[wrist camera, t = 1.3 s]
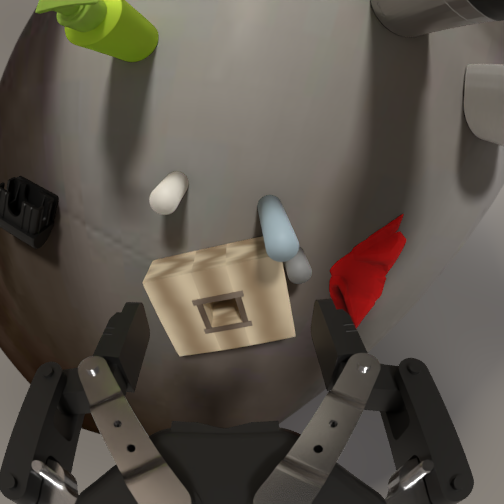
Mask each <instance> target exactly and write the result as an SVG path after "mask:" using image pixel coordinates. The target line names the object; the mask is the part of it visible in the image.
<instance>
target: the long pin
mask: <svg viewBox="0 0 504 504" xmlns="http://www.w3.org/2000/svg"><path fill="white" fill-rule="evenodd" d="M257 208H258V213H259V218H260V223H261V228H262V233H263V238H264V243H265V248H266V252H267V254H268V256H269V257H270V258H271V259H273V260H274V261H278V262H285V261H288V260H290V259H292V258H293V257H294V256H295V255H296V254H297V252H298V250H299V242H298V240H297V237H296V235H295V233H294V230H293V228H292V226H291V224H290V222H289V219H288V217H287V215H286V213H285V210H284V208H283V206H282V204H281V202H280V200H279V199H278V198H277V197H276V196H273V195H266V196H264V197H262V198H261V199H260V200H259V202H258V205H257Z"/></svg>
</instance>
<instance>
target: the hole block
mask: <svg viewBox="0 0 504 504" xmlns="http://www.w3.org/2000/svg"><path fill="white" fill-rule="evenodd" d="M143 285H144V287H145V290H146V292H147V294H148V296H149V298H150V300H151V302H152V304H153V306H154V308H155V310H156V313H157V315H158V317H159V319H160V321H161V323H162V324H163V326H164V328H165V330H166V332H167V334H168V336H169V338H170V340H171V342H172V344H173V346H174V347H175V349H176V351H177V353H178V355H179V356H185V355H193V354H200V353H207V352H214V351H220V350H226V349H233V348H238V347H244V346H250V345H255V344H261V343H266V342H271V341H276V340H281V339H286V338H290V337H295V336H296V335H295V329H294V324H293V318H292V312H291V306H290V301H289V295H288V290H287V284H286V279H285V273H284V268H283V262H278V261H274V260H273V259H271V258H270V257H269V256H268V254H267V252H266V248H265V243H264V238H263V236H261V237H256V238H252V239H247V240H243V241H238V242H233V243H229V244H224V245H220V246H215V247H211V248H206V249H202V250H197V251H193V252H188V253H184V254H179V255H175V256H170V257H166V258H162V259H157V260H153V261H152V264H151V266H150V268H149V270H148V272H147V274H146V276H145V279H144V281H143Z"/></svg>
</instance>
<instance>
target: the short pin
mask: <svg viewBox="0 0 504 504" xmlns="http://www.w3.org/2000/svg"><path fill="white" fill-rule="evenodd" d="M284 265H285V268H286V272H287V275H288V278H289V280H290V281H291V282H293V283H295V284H302V283H305V282H306V281H308V280H309V279H310V277H311V275H312V269H311V267H310V265H309V262H308V260H307V258H306V256H305V253H304V251H303V249H302V248H301V247H299V250H298V252H297V254H296V255H295V256H294V257H293V258H292V259H290V260H288V261H285V262H284Z"/></svg>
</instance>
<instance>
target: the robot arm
mask: <svg viewBox="0 0 504 504" xmlns="http://www.w3.org/2000/svg"><path fill="white" fill-rule="evenodd" d="M371 4H372V8H373V10H374V13H375V14H376V16H377V18H378V19H379V20H380V21H381V23H382V24H383V25H384V26H385V27H386V28H388V29H389V30H390V31H392V32H393V33H395V34H397V35H400V36H403V37H416V36H420V35H424V34H428V33H432V32H437V31H441V30H445V29H450V28H455V27H460V26H466V25H471V24H478V23H484V22H491V21H501V20H504V0H371ZM311 336H312V340H313V343H314V347H315V350H316V353H317V357H318V360H319V364H320V367H321V371H322V374H323V378H324V382H325V385H326V389H327V391H329V392H328V394H327V395H326V397H325V398H324V400H323V402H322V403H321V405H320V407H319V408H318V410H317V411H316V413H315V415H314V416H313V418H312V419H311V421H310V422H309V424H308V425H307V427H306V428H305V430H304V431H303V433H302V434H299V433H297V432H294V431H291V430H288V429H284V428H279V423H278V421H269V422H251V423H248V424H243V425H239V426H235V427H231V428H226V429H224V428H218V427H214V426H210V425H206V424H202V423H198V422H178V421H172V427H171V428H169V429H165V430H161V431H159V432H156V433H154V434H152V435H151V436H149V437H148V435H147V434H146V432H145V430H144V429H143V427H142V426H141V424H140V422H139V421H138V419H137V417H136V416H135V414H134V412H133V411H132V409H131V407H130V405H129V404H128V402H127V400H126V398H125V394H126V392H135V388H136V384H137V381H138V377H139V373H140V370H141V366H142V363H143V359H144V356H145V352H146V349H147V345H148V342H149V338H150V329H149V325H148V321H147V317H146V313H145V310H144V306H143V304H142V303H137V302H127V303H126V304H125V306H124V308H123V310H122V312H121V313H119V312H117V313H116V314H115V315H114V316H112V317H111V318H110V320H109V322H108V324H107V326H106V328H105V330H104V332H103V335H102V337H101V339H100V341H99V343H98V345H97V348H96V350H95V352H94V354H93V356H91V357H88V358H86V359H84V360H83V361H82V362H81V363H80V365H79V367H78V368H73V369H66V370H62V368H61V367H60V365H59V364H57V363H55V362H48V363H45V364H43V365H42V366H40V367H39V369H38V370H37V372H36V374H35V376H34V378H33V381H32V383H31V385H30V388H29V390H28V392H27V395H26V397H25V400H24V402H23V404H22V407H21V410H20V412H19V415H18V418H17V420H16V423H15V426H14V428H13V431H12V434H11V437H10V440H9V443H8V446H7V450H6V453H5V456H4V460H3V463H2V467H1V470H0V490H1V492H2V493H3V495H4V496H5V497H7V498H8V499H10V500H12V501H13V502H15V503H17V504H456V503H458V502H460V501H462V500H463V499H465V498H466V497H467V496H468V495H469V494H470V493H471V491H472V489H473V485H474V480H473V476H472V473H471V470H470V467H469V464H468V461H467V459H466V456H465V453H464V451H463V448H462V445H461V443H460V440H459V437H458V435H457V432H456V430H455V428H454V425H453V423H452V420H451V418H450V416H449V414H448V411H447V409H446V407H445V404H444V402H443V400H442V398H441V396H440V393H439V391H438V389H437V387H436V385H435V383H434V381H433V378H432V376H431V375H430V372H429V370H428V368H427V366H426V365H425V364H424V363H423V362H422V361H420V360H418V359H414V358H407V359H404V360H403V361H402V362H401V363H400V364H399V366H392V365H384V364H380V363H379V361H378V359H376V357H374V356H372V355H370V354H368V353H367V351H366V349H365V347H364V344H363V342H362V340H361V338H360V336H359V333H358V331H357V329H356V327H355V325H354V323H353V321H352V319H351V317H350V315H349V314H348V313H347V312H345V311H344V310H343V309H336V307H335V305H334V302H333V300H332V299H324V300H316V301H315V304H314V310H313V317H312V323H311ZM330 390H331V391H330ZM363 410H373V411H380V413H381V416H382V419H383V422H384V426H385V430H386V433H387V437H388V440H389V444H390V448H391V451H392V455H393V459H394V463H395V466H396V470H397V471H396V472H395V473H394V474H393V475H392V476H391V478H390V479H389V483H388V494H387V497H386V498H385V499H384V498H383V497H382V496H381V495H380V494H379V493H378V492H376V491H375V490H374V489H372V488H371V487H369V486H368V485H366V484H365V483H364V482H362V481H361V480H360V479H358V478H357V477H355V476H354V475H353V474H351V473H350V472H349V471H347V470H346V469H345V468H343V467H342V466H341V465H339V464H338V463H337V460H338V459H339V457H340V455H341V453H342V451H343V450H344V448H345V446H346V444H347V442H348V440H349V438H350V436H351V434H352V433H353V430H354V428H355V427H356V425H357V422H358V420H359V418H360V416H361V414H362V412H363ZM85 413H92V416H93V418H94V420H95V422H96V425H97V427H98V429H99V431H100V433H101V435H102V437H103V439H104V442H105V444H106V446H107V448H108V449H109V451H110V453H111V455H112V457H113V459H114V461H115V463H116V465H115V466H114V467H112V468H111V469H110V470H109V471H107V472H106V473H105V474H104V475H102V476H101V477H100V478H99V479H98V480H96V481H95V482H94V483H93V484H91V485H90V486H89V487H88V488H86V489H85V490H84V491H83V492H81V493H80V495H78V490H77V482H76V480H75V478H74V476H73V475H72V474H71V471H72V466H73V461H74V456H75V452H76V447H77V443H78V438H79V434H80V430H81V426H82V422H83V418H84V415H85Z"/></svg>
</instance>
